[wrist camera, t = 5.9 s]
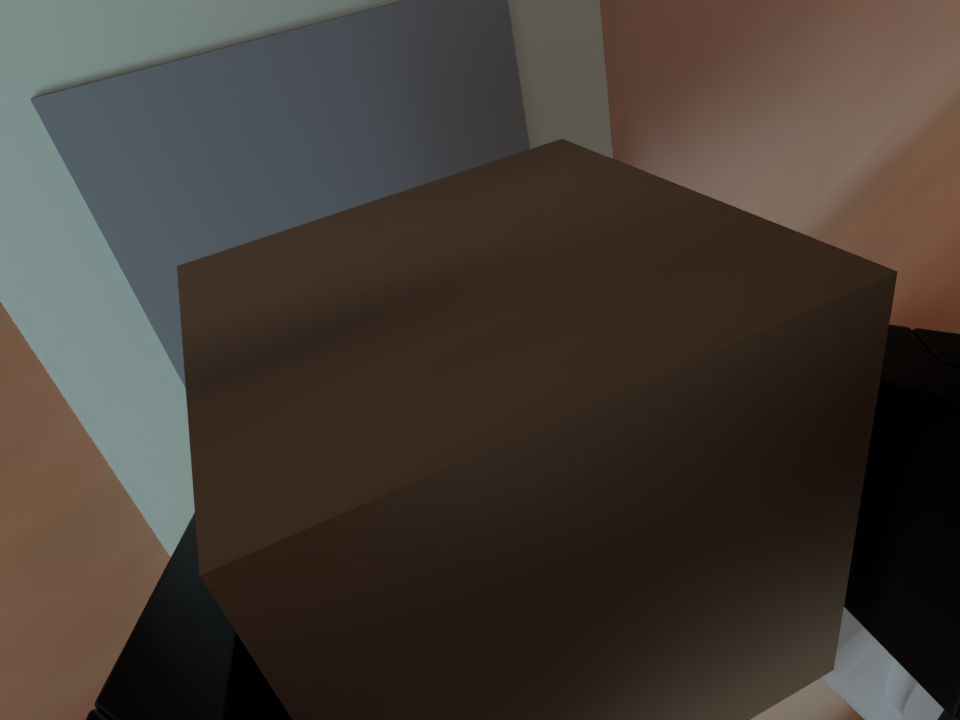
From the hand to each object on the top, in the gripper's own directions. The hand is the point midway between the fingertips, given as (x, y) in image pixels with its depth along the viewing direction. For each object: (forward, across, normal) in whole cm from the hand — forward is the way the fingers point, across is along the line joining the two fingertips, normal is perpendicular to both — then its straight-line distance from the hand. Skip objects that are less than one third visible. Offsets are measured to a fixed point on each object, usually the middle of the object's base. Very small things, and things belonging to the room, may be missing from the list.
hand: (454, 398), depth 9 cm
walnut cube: (+1, 0, 0) cm, 1 cm away
